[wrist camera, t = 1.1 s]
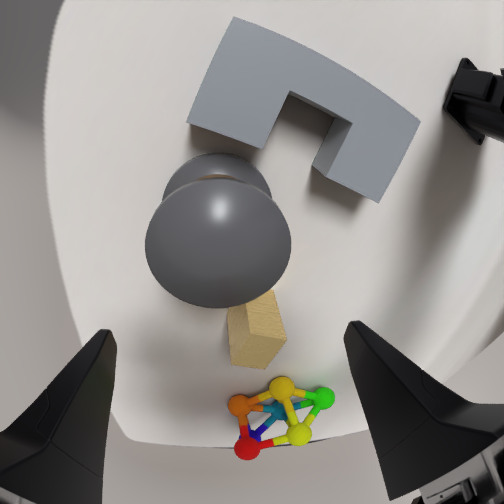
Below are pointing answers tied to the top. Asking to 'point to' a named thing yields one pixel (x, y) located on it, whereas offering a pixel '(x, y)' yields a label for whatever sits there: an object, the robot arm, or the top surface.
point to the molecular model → (277, 416)
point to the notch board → (312, 92)
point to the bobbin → (217, 234)
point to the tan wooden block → (255, 332)
